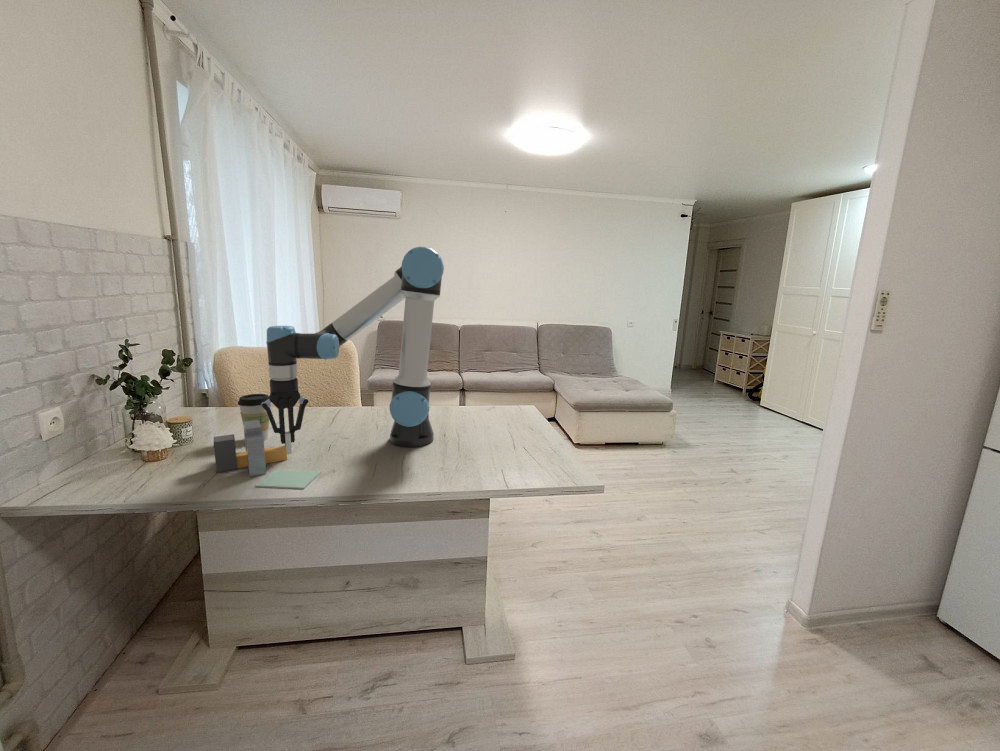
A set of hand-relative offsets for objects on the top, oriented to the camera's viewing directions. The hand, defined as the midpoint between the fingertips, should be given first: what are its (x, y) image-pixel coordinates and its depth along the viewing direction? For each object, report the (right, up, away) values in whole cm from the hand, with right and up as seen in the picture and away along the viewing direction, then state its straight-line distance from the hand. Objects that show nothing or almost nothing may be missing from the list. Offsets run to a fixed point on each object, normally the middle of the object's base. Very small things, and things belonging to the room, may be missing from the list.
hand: (288, 452), depth 132 cm
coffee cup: (-18, +2, +15) cm, 23 cm away
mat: (+8, -5, -15) cm, 17 cm away
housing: (-8, -2, -5) cm, 9 cm away
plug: (-8, -2, -5) cm, 10 cm away
